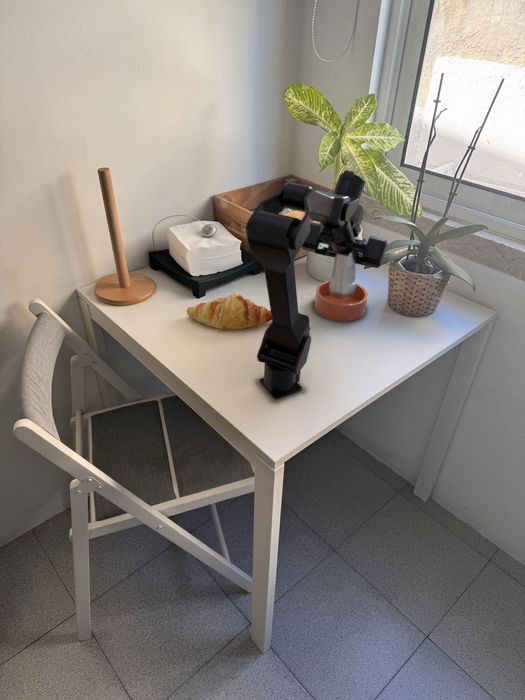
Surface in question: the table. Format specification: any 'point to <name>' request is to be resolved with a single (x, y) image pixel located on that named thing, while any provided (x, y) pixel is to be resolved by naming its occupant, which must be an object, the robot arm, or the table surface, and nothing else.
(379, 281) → the table surface
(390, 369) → the table surface
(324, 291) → the bowl
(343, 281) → the plastic bottle
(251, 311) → the croissant
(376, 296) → the table surface
